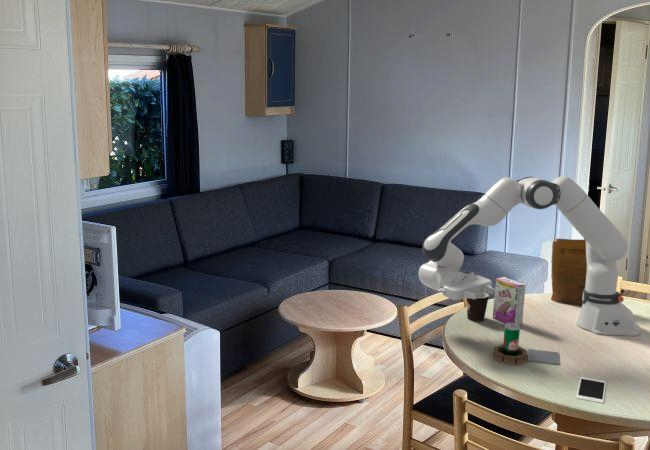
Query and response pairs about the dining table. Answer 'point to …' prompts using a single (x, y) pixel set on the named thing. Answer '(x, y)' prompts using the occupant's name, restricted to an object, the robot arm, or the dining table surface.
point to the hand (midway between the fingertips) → (485, 294)
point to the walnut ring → (510, 359)
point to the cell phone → (591, 390)
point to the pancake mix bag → (568, 271)
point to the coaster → (543, 356)
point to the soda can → (511, 339)
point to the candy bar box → (508, 301)
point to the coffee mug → (477, 307)
